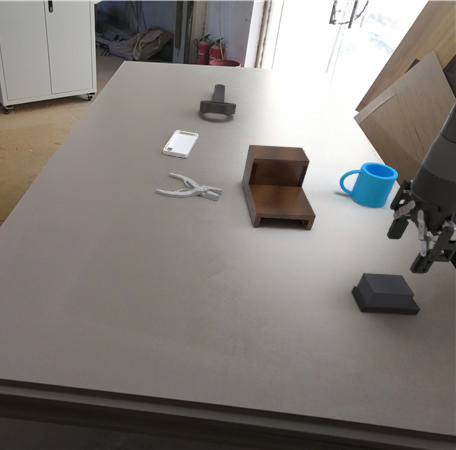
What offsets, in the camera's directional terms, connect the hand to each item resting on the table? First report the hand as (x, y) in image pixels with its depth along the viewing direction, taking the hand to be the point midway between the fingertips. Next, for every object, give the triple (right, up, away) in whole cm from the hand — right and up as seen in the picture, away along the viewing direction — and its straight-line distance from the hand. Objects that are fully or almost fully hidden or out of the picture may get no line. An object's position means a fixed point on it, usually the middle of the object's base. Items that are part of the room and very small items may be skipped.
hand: (404, 254), depth 67 cm
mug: (+11, +12, +36) cm, 39 cm away
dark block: (+1, -9, +7) cm, 12 cm away
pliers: (-32, +13, +35) cm, 50 cm away
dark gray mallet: (-19, +48, +81) cm, 96 cm away
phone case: (-34, +29, +55) cm, 70 cm away
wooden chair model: (-12, +10, +31) cm, 35 cm away
